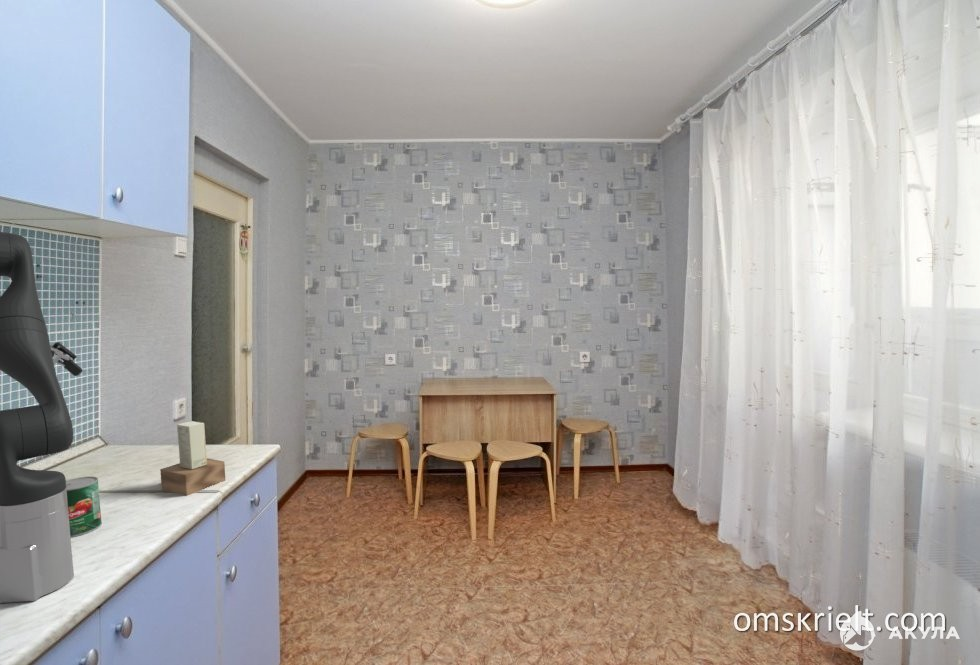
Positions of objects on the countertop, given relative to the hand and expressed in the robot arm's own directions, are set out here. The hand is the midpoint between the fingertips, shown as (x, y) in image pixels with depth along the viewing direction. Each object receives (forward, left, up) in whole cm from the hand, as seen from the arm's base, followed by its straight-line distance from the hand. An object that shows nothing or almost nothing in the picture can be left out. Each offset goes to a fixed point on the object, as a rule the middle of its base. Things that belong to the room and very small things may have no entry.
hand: (65, 376), depth 114 cm
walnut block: (+11, -23, -34) cm, 42 cm away
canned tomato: (-13, -11, -34) cm, 38 cm away
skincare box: (+10, -23, -28) cm, 38 cm away
